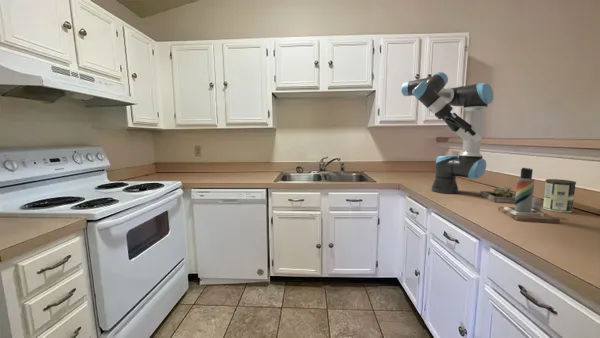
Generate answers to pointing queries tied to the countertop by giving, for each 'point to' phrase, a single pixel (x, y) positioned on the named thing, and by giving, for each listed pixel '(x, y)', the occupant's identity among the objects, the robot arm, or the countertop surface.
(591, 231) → the countertop surface
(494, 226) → the countertop surface
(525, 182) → the lotion bottle
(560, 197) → the coffee can
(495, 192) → the fruit
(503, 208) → the template board
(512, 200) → the square wooden tray
